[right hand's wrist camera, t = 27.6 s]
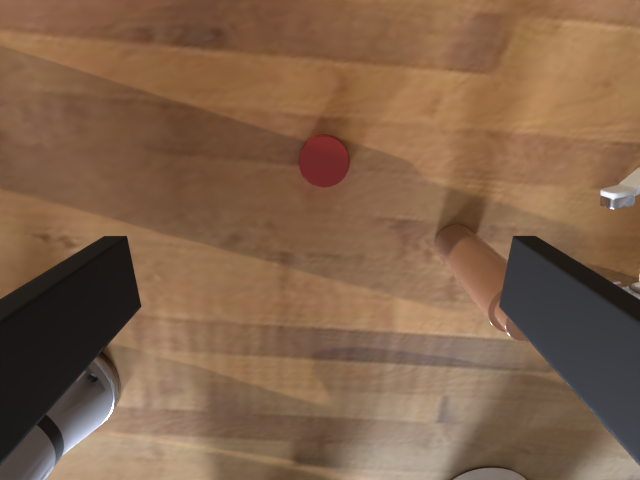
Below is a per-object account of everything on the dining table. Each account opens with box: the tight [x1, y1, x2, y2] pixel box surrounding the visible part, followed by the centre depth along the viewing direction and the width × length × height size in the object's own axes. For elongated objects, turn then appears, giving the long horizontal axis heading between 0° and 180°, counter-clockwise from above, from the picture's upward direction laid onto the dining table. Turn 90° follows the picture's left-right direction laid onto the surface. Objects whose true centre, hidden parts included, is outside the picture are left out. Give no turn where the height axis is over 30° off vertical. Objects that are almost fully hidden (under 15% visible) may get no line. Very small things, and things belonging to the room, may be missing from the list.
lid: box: [299, 135, 349, 187], centre depth 36 cm, size 5×5×2 cm
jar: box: [434, 224, 529, 342], centre depth 33 cm, size 4×4×16 cm
